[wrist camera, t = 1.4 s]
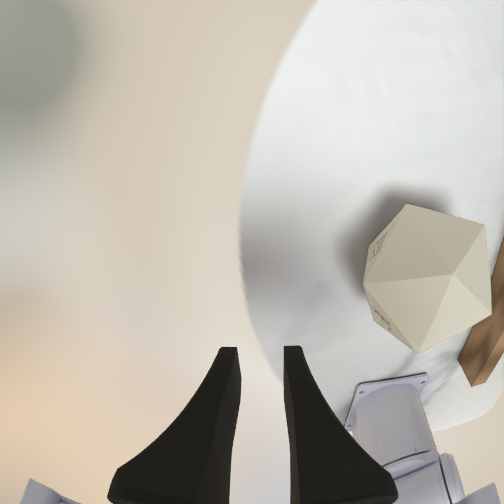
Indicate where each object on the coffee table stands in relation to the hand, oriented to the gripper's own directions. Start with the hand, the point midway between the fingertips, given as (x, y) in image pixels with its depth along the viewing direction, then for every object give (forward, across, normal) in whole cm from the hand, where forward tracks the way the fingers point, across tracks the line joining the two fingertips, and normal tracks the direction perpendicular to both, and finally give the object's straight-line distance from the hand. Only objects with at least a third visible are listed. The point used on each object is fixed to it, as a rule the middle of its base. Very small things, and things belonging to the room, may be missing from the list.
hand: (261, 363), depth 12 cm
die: (+10, -10, 0) cm, 14 cm away
